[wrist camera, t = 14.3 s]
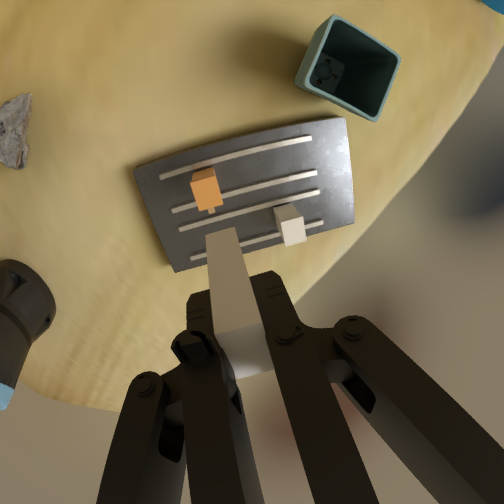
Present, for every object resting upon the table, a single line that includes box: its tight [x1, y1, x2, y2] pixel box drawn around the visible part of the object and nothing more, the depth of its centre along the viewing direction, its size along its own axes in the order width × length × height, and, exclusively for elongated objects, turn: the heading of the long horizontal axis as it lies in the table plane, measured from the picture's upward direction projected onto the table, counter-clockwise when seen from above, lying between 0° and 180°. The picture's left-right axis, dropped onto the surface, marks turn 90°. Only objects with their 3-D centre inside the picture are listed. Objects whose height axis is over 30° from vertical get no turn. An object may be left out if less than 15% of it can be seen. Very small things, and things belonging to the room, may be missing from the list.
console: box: [133, 116, 355, 273], centre depth 34 cm, size 26×15×3 cm, turn 103°
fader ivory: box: [273, 203, 307, 247], centre depth 33 cm, size 3×3×4 cm
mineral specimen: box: [0, 93, 32, 170], centre depth 23 cm, size 10×8×10 cm
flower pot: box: [294, 14, 401, 122], centre depth 24 cm, size 9×9×9 cm
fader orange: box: [190, 167, 223, 211], centre depth 29 cm, size 3×3×4 cm
